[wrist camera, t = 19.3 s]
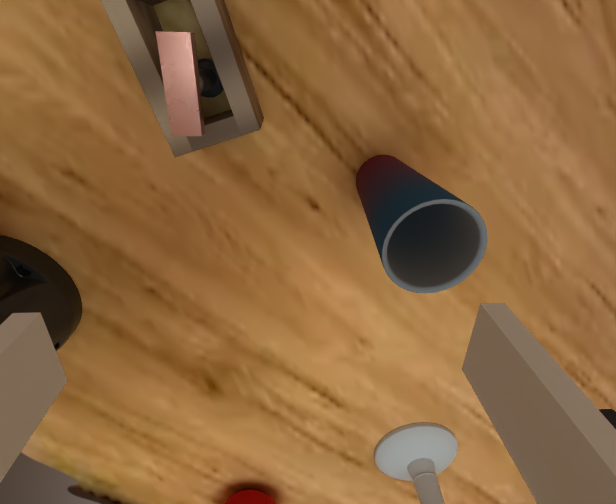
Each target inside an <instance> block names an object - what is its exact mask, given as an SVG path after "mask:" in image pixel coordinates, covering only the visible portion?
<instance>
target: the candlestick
mask: <svg viewBox="0 0 616 504" xmlns="http://www.w3.org/2000/svg"><path fill="white" fill-rule="evenodd" d="M457 451H458V443H457V440H456V438H455V436H454V434H453V433H452V432H451V431H450V430H449V429H447V428H446V427H444V426H442V425H439V424H434V423H413V424H408V425H405V426H402V427H399V428H397V429H395V430H393V431H391V432H389V433H388V434H387V435H385V436H384V437H383V438H382V439H381V440H380V441H379V443H378V444H377V446H376V448H375V452H374V458H375V462H376V465H377V466H378V468H379V469H380V470H381V471H382V472H383V473H385V474H386V475H388V476H390V477H393V478H396V479H400V480H407V481H413V484H414V486H415V489H416V492H417V494H418V497H419V500H420V503H421V504H445V503H444V500H443V496H442V493H441V490H440V486H439V483H438V480H437V476H436V474H438V473H440V472H441V471H443V470H444V469H445V468H447V467H448V466H449V465H450V463H451V462H452V461H453V459H454V458H455V456H456V454H457Z"/></svg>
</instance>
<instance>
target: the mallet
mask: <svg viewBox="0 0 616 504" xmlns="http://www.w3.org/2000/svg"><path fill="white" fill-rule="evenodd" d="M156 37H157V44H158V51H159V57H160V64H161V70H162V77H163V84H164V90H165V97H166V103H167V110H168V116H169V123H170V130H171V136H203V135H204V134H205V125H204V116H203V107H202V98H201V96H203V97H208V98H211V97H215V96H217V95H219V94H220V93H221V92H222V91H223V89H224V88H223V85H222V83H221V80H220V78H219V75H218V72H217V70H216V67H215V64H214V62H213V60H211V59H200V60H198V61H197V53H196V44H195V34H194V33H191V32H156Z"/></svg>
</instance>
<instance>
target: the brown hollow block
mask: <svg viewBox="0 0 616 504" xmlns="http://www.w3.org/2000/svg"><path fill="white" fill-rule="evenodd" d="M163 1H166V0H101V2H102V4H103V6H104V8H105V10H106V12H107V14H108V16H109V18H110V21H111V23H112V25H113V27H114V29H115V31H116V33H117V35H118V37H119V40H120V42H121V44H122V46H123V48H124V50H125V52H126V54H127V57H128V59H129V61H130V63H131V65H132V67H133V69H134V71H135V73H136V76H137V78H138V80H139V82H140V84H141V86H142V88H143V90H144V93H145V95H146V97H147V99H148V101H149V103H150V105H151V107H152V109H153V112H154V114H155V116H156V118H157V120H158V122H159V124H160V126H161V129H162V131H163V133H164V135H165V137H166V139H167V141H168V143H169V145H170V148H171V150H172V152H173V154H174V156H175V157H177V156H180V155H184V154H187V153H190V152H193V151H196V150H199V149H202V148H205V147H208V146H211V145H214V144H217V143H220V142H223V141H227V140H230V139H233V138H236V137H239V136H242V135H245V134H248V133H251V132H254V131H257V130H260V128H261V125H262V122H263V119H264V117H263V114H262V111H261V108H260V105H259V102H258V99H257V96H256V94H255V91H254V88H253V85H252V82H251V79H250V76H249V73H248V70H247V67H246V64H245V61H244V58H243V55H242V52H241V49H240V47H239V44H238V41H237V38H236V35H235V32H234V29H233V26H232V23H231V20H230V17H229V14H228V11H227V8H226V5H225V2H224V0H191V3H192V6H193V8H194V11H195V14H196V16H197V19H198V22H199V24H200V27H201V30H202V32H203V35H204V38H205V40H206V43H207V46H208V48H209V51H210V54H211V56H212V59H213V62H214V64H215V67H216V70H217V72H218V75H219V78H220V80H221V83H222V85H223V88H224V91H225V93H226V96H227V99H228V101H229V104H230V107H231V109H232V110H229V111H226V112H223V113H220V114H217V115H214V116H211V117H208V118H205V119H204V125H205V134H204V135H203V136H171V130H170V123H169V116H168V110H167V103H166V97H165V90H164V84H163V77H162V70H161V64H160V57H159V51H158V44H157V37H156V32H163V30H162V28H161V25H160V23H159V21H158V18H157V16H156V13H155V11H154V9H153V5H155V4H158V3H161V2H163Z"/></svg>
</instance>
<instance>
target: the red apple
mask: <svg viewBox="0 0 616 504" xmlns="http://www.w3.org/2000/svg"><path fill="white" fill-rule="evenodd" d="M225 504H275V502H274V501H273V500H272V499H271V498H270V497H269V496H268V495H267V494H265V493H263V492H260V491H257V490H252V489H248V490H243V491H239V492H237V493H235V494H233V495H232V496H231V497H230V498H229V499H228V500H227V501H226V503H225Z"/></svg>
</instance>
